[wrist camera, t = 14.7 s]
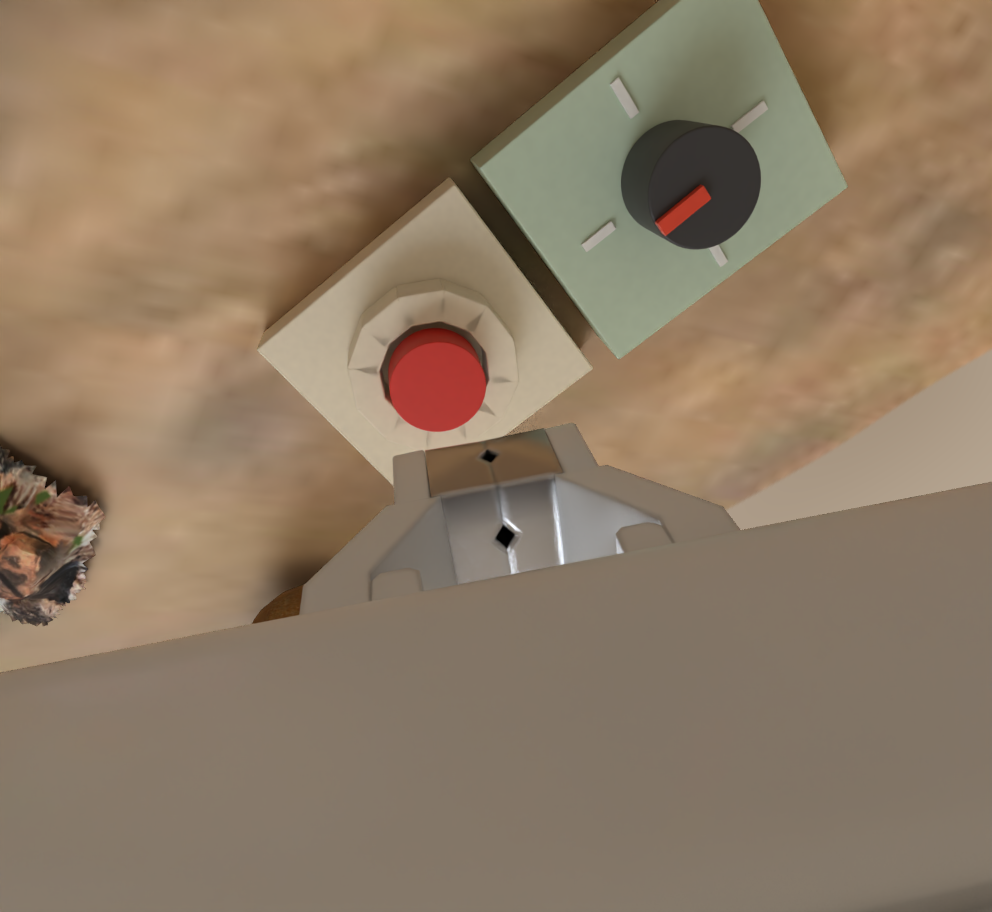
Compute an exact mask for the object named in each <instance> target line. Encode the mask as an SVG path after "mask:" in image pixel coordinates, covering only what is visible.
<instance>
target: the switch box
mask: <svg viewBox="0 0 992 912" xmlns="http://www.w3.org/2000/svg"><path fill="white" fill-rule="evenodd" d="M427 328H443V329H447V330H451V331H453V332H456V333H458V334H459V335H461V336H463V337H464V338H465V339H466V340H467V341H468V342H469V343H470V344H471V345H472V346H473V348H474V349H475V351H476V353H477V355H478V358H479V360H480V363H481V366H482V368H483V371H484V374H485V378H486V393H485V397H484V400H483V403H482V405H481V407H480V409H479V410H478V411H477V413H476V414H475V415H474V416H473V417H472V418H471V419H470V420H469V421H468V422H466V423H465V424H463V425H462V426H460V427H458V428H455V429H452V430H449V431H443V432H430V431H425V430H421V429H418V428H416V427H414V426H412V425H410V424H409V423H407V422H406V421H405V420H404V419H403V418H402V417H401V416H400V415H399V414H398V413H397V411H396V410H395V408H394V406H393V404H392V401H391V397H390V391H389V378H388V368H389V362H390V359H391V356H392V354H393V352H394V350H395V349H396V347H397V346H398V345H399V344H400V342H401V341H403V340H404V339H405V338H406V337H408V336H409V335H411V334H413V333H414V332H417V331H420V330H423V329H427ZM257 350H258V352H259V353H260V354H261V355H262V356H263V357H264V358H265V359H266V360H267V361H268V362H269V363H270V364H271V365H272V366H273V367H274V368H275V369H276V370H277V371H278V372H279V373H280V374H281V375H282V376H283V377H284V378H285V379H286V380H287V381H288V382H289V383H290V384H291V385H292V386H293V387H294V388H295V389H296V390H297V391H298V392H299V393H300V394H301V395H302V396H303V397H304V398H305V399H306V400H307V401H308V402H309V403H310V404H311V405H312V406H313V407H314V408H315V409H316V410H317V411H318V412H319V413H320V414H321V415H322V416H323V417H324V418H325V419H326V420H327V421H328V422H329V423H330V424H331V425H332V426H333V427H334V428H335V429H336V430H337V431H338V432H339V433H340V434H341V435H342V436H343V437H344V438H345V439H346V440H347V441H348V442H349V443H350V444H351V445H352V446H353V447H354V448H355V449H356V450H357V451H358V452H359V453H360V454H361V455H362V456H363V457H364V458H366V459H367V460H368V461H369V462H370V463H371V464H372V465H373V466H374V467H375V468H376V469H377V470H378V471H379V472H380V473H381V474H382V475H383V476H384V477H385V478H386V479H387V480H388V481H389V482H390V483H391V484H392V485H393V486H394V483H393V461H392V458H393V457H394V456H396V455H400V454H405V453H410V452H414V451H419V450H423V451H424V452H425V450H429V449H435V448H442V447H448V446H454V445H460V444H466V443H472V442H478V441H485V440H489V439H494V438H498V437H503V436H505V435H506V434H507V433H509V432H510V431H511V430H513V429H514V428H515V427H516V426H518V425H519V424H520V423H522V422H523V421H524V420H526V419H527V418H528V417H530V416H531V415H532V414H534V413H535V412H536V411H538V410H539V409H540V408H542V407H543V406H544V405H546V404H547V403H548V402H550V401H551V400H552V399H553V398H555V397H556V396H557V395H559V394H560V393H561V392H563V391H564V390H565V389H567V388H568V387H569V386H571V385H572V384H573V383H575V382H576V381H577V380H579V379H580V378H581V377H583V376H584V375H585V374H586V373H588V372H589V371H590V370H592V369H593V366H592V365H591V364H590V362H589V361H588V360H587V358H586V357H585V356H584V354H583V353H582V352H581V350H580V349H579V348H578V346H577V345H576V344H575V342H574V341H573V340H572V339H571V337H570V336H569V335H568V333H567V332H566V331H565V329H564V328H563V327H562V325H561V324H560V323H559V321H558V320H557V319H556V317H555V316H554V315H553V313H552V312H551V311H550V309H549V308H548V307H547V305H546V304H545V303H544V301H543V300H542V299H541V297H540V296H539V295H538V293H537V292H536V291H535V289H534V288H533V287H532V285H531V284H530V283H529V281H528V280H527V279H526V277H525V276H524V275H523V273H522V272H521V271H520V269H519V268H518V267H517V265H516V264H515V263H514V261H513V260H512V259H511V257H510V256H509V255H508V253H507V252H506V251H505V249H504V248H503V247H502V245H501V244H500V243H499V241H498V240H497V239H496V237H495V236H494V235H493V233H492V232H491V231H490V229H489V228H488V227H487V225H486V224H485V223H484V221H483V220H482V219H481V217H480V216H479V215H478V213H477V212H476V211H475V209H474V208H473V207H472V205H471V204H470V203H469V201H468V200H467V199H466V197H465V196H464V195H463V193H462V192H461V191H460V189H459V188H458V187H457V185H456V184H455V183H454V181H453V180H452V179H451V178H450V177H449V178H447V179H446V180H445V181H443V182H442V183H441V184H440V185H439V186H437V187H436V188H435V189H434V190H433V191H431V192H430V193H429V194H428V195H427V196H426V197H424V198H423V199H422V200H421V201H420V202H418V203H417V204H416V205H415V206H414V207H412V208H411V209H410V210H409V211H408V212H406V213H405V214H404V215H403V216H402V217H400V218H399V219H398V220H397V221H396V222H395V223H393V224H392V225H391V226H390V227H389V228H387V229H386V230H385V231H384V232H383V233H381V234H380V235H379V236H378V237H377V238H375V239H374V240H373V241H372V242H371V243H370V244H368V245H367V246H366V247H365V248H364V249H362V250H361V251H360V252H359V253H358V254H356V255H355V256H354V257H353V258H352V259H350V260H349V261H348V262H347V263H346V264H345V265H343V266H342V267H341V268H340V269H339V270H337V271H336V272H335V273H334V274H333V275H331V276H330V277H329V278H328V279H327V280H325V281H324V282H323V283H322V284H321V285H319V286H318V287H317V288H316V289H315V290H314V291H312V292H311V293H310V294H309V295H308V296H306V297H305V298H304V299H303V300H302V301H300V302H299V303H298V304H297V305H296V306H294V307H293V308H292V309H291V310H290V311H289V312H287V313H286V314H285V315H284V316H283V317H281V318H280V319H279V320H278V321H277V322H275V323H274V324H273V325H272V326H271V327H269V328H268V329H267V330H266V331H265V332H264V333H263V335H262V338H261V340H260V343H259V346H258V348H257Z"/></svg>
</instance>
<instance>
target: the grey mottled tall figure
mask: <svg viewBox="0 0 992 912" xmlns="http://www.w3.org/2000/svg"><path fill="white" fill-rule="evenodd" d="M9 452H10V450H6V449H2V447H1V445H0V612H1V611H4V614H7V615H10V617H11V619H12V622H13V621H15V620H19V621H20V622H21V623H22V624H26V623H30V624H33V625H35V626H38V625H39V624H40V623H41V622H42V625H43V626H46V625H48V622H50V621H52V620H53V619H52V618H50V617H54V618H57V617H55V616H54V615H60V614H59V613H57V612H56V611H60V610H63V609H62V607H61V605H62V606H66V605H65V602H67V603H70V600H76V594H75V593H79V592H80V591H81V589H86V588H85V587H84V586H83V584H84V583H85V582H86V581H84V580H82V579H84V578H86V577H85V575H84V572H85V571H87V570H88V569H87V568H86V567H85V566H84V565H83V564H82V563H83V562H85V561H87V560H88V559H90V558H92V557H94V556H95V555H96V554H95V552H94V550H93V548H92V546H91V544H90V541H91V540H93V539H94V538H96V537H97V536H96V535H95V533H94V532H93V531H92V530H97V529H100V528H99V522H100V521H102V520H103V519H104V518H105V517H106V516H105V515H104V513H103V512H102V511H101V509H100V508H99V506H98V505H97V503H96V501H95V500H94V502H93V503H92V504H91V505H90V506H89V507H88V508H87V496H73V494H72V491H71V489H70V486H69V487H67V488H66V489H65V490H64V491H63V492H62V493H61V494H60V495H59V496H58V497H57V493H56V480H55V481H54V482H53V483H52V484H51V485H49V486H48V487H47V488H46V489H45V484H46V479H47V477H43V476H38V475H33V474H32V473H33V471H34V469H35V468H36V466H24V464H23V462H22V460H21V461H18V462H15V463H14V457H13V456H12V457H10V458H8V459H7V457H8V455H9Z"/></svg>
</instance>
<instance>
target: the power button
mask: <svg viewBox="0 0 992 912" xmlns="http://www.w3.org/2000/svg"><path fill="white" fill-rule="evenodd" d="M388 378H389V391H390V397H391V401H392V404H393V406H394V408H395V410H396V411H397V413H398V414H399V415H400V416H401V417H402V418H403V419H404V420H405V421H406V422H407V423H409V424H410V425H412V426H414V427H416V428H418V429H421V430H425V431H430V432H443V431H449V430H452V429H455V428H458V427H460V426H462V425H463V424H465V423H466V422H468V421H469V420H470V419H471V418H472V417H473V416H474V415H475V414H476V413H477V411H478V410H479V409H480V407H481V405H482V403H483V400H484V397H485V393H486V378H485V374H484V371H483V368H482V366H481V363H480V360H479V358H478V355H477V353H476V351H475V349H474V348H473V346H472V345H471V344H470V343H469V342H468V341H467V340H466V339H465V338H464V337H463V336H461V335H459V334H458V333H456V332H453V331H451V330H447V329H443V328H427V329H423V330H420V331H417V332H414V333H413V334H411V335H409V336H408V337H406V338H405V339H404V340H403V341H401V342H400V344H399V345H398V346H397V347H396V349H395V350H394V352H393V354H392V356H391V359H390V362H389V368H388Z"/></svg>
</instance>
